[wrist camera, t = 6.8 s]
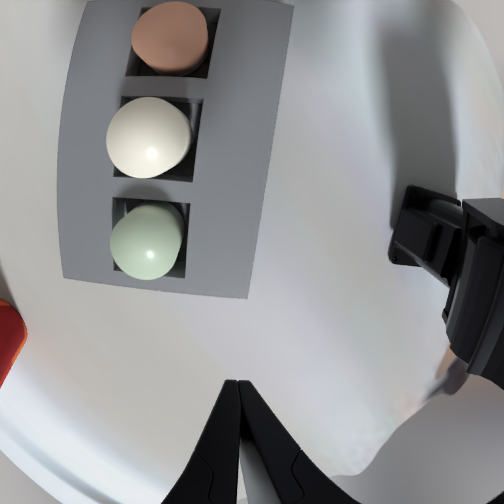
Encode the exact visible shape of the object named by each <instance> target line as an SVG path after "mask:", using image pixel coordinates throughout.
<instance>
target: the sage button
mask: <svg viewBox="0 0 504 504" xmlns="http://www.w3.org/2000/svg"><path fill="white" fill-rule="evenodd" d="M184 233H185V226H184V221H183V218H182V216H181V214H180V213H179V211H178V210H177V209H176V208H175V207H174V206H173V205H171V204H170V203H168V202H166V201H160V200H146V201H144V202H142V203H140V204H138V205H137V206H136V207H135V208H134V209H132V210H131V211H130V212H129V213H128V214H127V215H125V216H124V217H123V218H122V219H121V220H120V221H119V222H118V223H117V224H116V225H115V227H114V229H113V231H112V234H111V238H110V249H111V253H112V256H113V258H114V260H115V262H116V264H117V265H118V266H119V267H120V269H122V270H123V271H124V272H125V273H126V274H128V275H130V276H132V277H134V278H137V279H142V280H152V279H156V278H159V277H161V276H163V275H165V274H166V273H167V272H168V271H169V270H170V269H171V268H172V266H173V265H174V263H175V260H176V258H177V255H178V252H179V249H180V246H181V243H182V241H183V237H184Z"/></svg>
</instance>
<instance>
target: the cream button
mask: <svg viewBox="0 0 504 504" xmlns="http://www.w3.org/2000/svg"><path fill="white" fill-rule="evenodd" d="M192 138H193V133H192V127H191V124H190V122H189V120H188V118H187V117H186V116H185V114H184V113H183V112H181V111H180V110H179V109H177V108H176V107H174V106H173V105H171V104H170V103H168V102H166V101H165V100H162V99H159V98H155V97H143V98H138V99H135V100H133V101H131V102H129V103H127V104H125V105H124V106H123V107H122V108H120V109H119V111H118V112H117V113H116V114H115V115H114V117H113V118H112V120H111V122H110V125H109V127H108V131H107V136H106V145H107V150H108V154H109V157H110V158H111V160H112V162H113V163H114V165H115V166H116V167H117V168H118V169H119V170H120V171H121V172H123V173H125V174H126V175H129V176H131V177H135V178H151V177H154V176H157V175H160V174H162V173H163V172H165V171H167V170H169V169H170V168H172V167H174V166H175V165H177V164H178V163H180V162H181V161H182V160H183V159H184V158H185V156H186V155H187V153H188V152H189V150H190V147H191V144H192Z"/></svg>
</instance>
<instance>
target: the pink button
mask: <svg viewBox="0 0 504 504" xmlns="http://www.w3.org/2000/svg"><path fill="white" fill-rule="evenodd" d="M131 42H132V46H133V49H134V51H135V52H136V54H137V55H138V56H139V57H140V58H141V59H143V60H144V61H145V62H146V63H147V64H148V65H149V66H150V67H151V68H152V69H153V70H154V71H155V72H157V73H158V74H160V75H163V76H167V77H180V76H184V75H187V74H189V73H191V72H193V71H195V70H196V69H197V68H198V67H200V66H201V65H202V63H203V62H204V61H205V59H206V57H207V55H208V51H209V41H208V33H207V25H206V20H205V17H204V15H203V14H202V12H201V11H200V10H199V9H198V8H196V7H195V6H193V5H191V4H188V3H185V2H176V1H175V2H166V3H162V4H159V5H157V6H155V7H153V8H151V9H149V10H148V11H147V12H145V13H144V14H143V15H142V16H141V17H140V18H139V19H138V21H137V22H136V24H135V26H134V28H133V31H132V35H131Z"/></svg>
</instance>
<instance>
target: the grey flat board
mask: <svg viewBox="0 0 504 504" xmlns="http://www.w3.org/2000/svg"><path fill="white" fill-rule="evenodd" d="M175 1H176V2H185V3H188V4H191V5H193V6H195V7H196V8H198V9H199V10H200V11H201V12H202V14H203V15H204V17H205V20H206V22H211V23H218V26H217V31H216V35H215V40H214V45H213V50H212V55H211V61H210V66H209V72H208V77H207V79H203V78H189V77H167V76H138V73H139V68H140V63H141V58H140V57H139V56H138V55H137V54H136V52H135V51H134V49H133V46H132V42H131V35H132V31H133V28H134V26H135V24H136V22H137V21H138V19H139V18H140V17H141V16H142V15H143V14H144V13H145V12H147V11H148V10H149V9H151V8H153V7H155V6H157V5H159V4H162V3H166V2H175ZM293 9H294V6H292V5H288V4H283V3H278V2H273V1H267V0H93V1H88V2H87V4H86V7H85V10H84V13H83V16H82V19H81V22H80V26H79V29H78V32H77V36H76V40H75V43H74V47H73V51H72V56H71V60H70V65H69V69H68V74H67V80H66V85H65V91H64V97H63V104H62V112H61V120H60V130H59V142H58V159H57V214H58V231H59V244H60V254H61V262H62V270H63V277H64V278H67V279H73V280H80V281H86V282H93V283H100V284H108V285H115V286H122V287H130V288H138V289H147V290H155V291H164V292H173V293H183V294H193V295H203V296H214V297H226V298H238V299H247V298H248V292H249V286H250V280H251V274H252V267H253V261H254V255H255V249H256V243H257V237H258V230H259V224H260V218H261V212H262V205H263V199H264V193H265V187H266V180H267V174H268V168H269V162H270V155H271V149H272V143H273V136H274V130H275V124H276V118H277V111H278V105H279V98H280V92H281V86H282V79H283V73H284V67H285V60H286V54H287V47H288V41H289V34H290V28H291V22H292V15H293ZM143 97H155V98H159V99H162V100H165V101H166V102H184V103H197V104H203V108H202V114H201V121H200V128H199V135H198V143H197V150H196V158H195V167H194V176H193V177H191V176H180V175H168V174H160V175H157V176H154V177H151V178H135V177H131V176H129V175H126V174H125V173H123V172H121V171H120V170H119V169H118V168H117V167H116V166H115V165H114V163H113V162H112V160H111V158H110V157H109V154H108V150H107V145H106V136H107V131H108V127H109V125H110V122H111V120H112V118H113V117H114V115H115V114H116V113H117V112H118V111H119V109H120V108H122V107H123V106H124V105H125V104H127V103H129V102H131V101H133V100H135V99H138V98H143ZM125 198H135V199H148V200H160V201H171V202H182V203H191V205H190V216H189V228H188V241H187V255H186V262H180V261H175V263H174V265H173V266H172V268H171V269H170V270H169V271H168V272H167V273H166V274H165V275H163V276H161V277H159V278H156V279H152V280H142V279H137V278H134V277H132V276H130V275H128V274H126V273H125V272H124V271H123V270H122V269H120V267H119V266H118V265H117V264H116V262H115V260H114V258H113V256H112V253H111V249H110V238H111V234H112V231H113V229H114V227H115V225H116V224H117V223H118V222H119V221H120V220H121V219H122V218H123V217H124V207H125Z"/></svg>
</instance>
